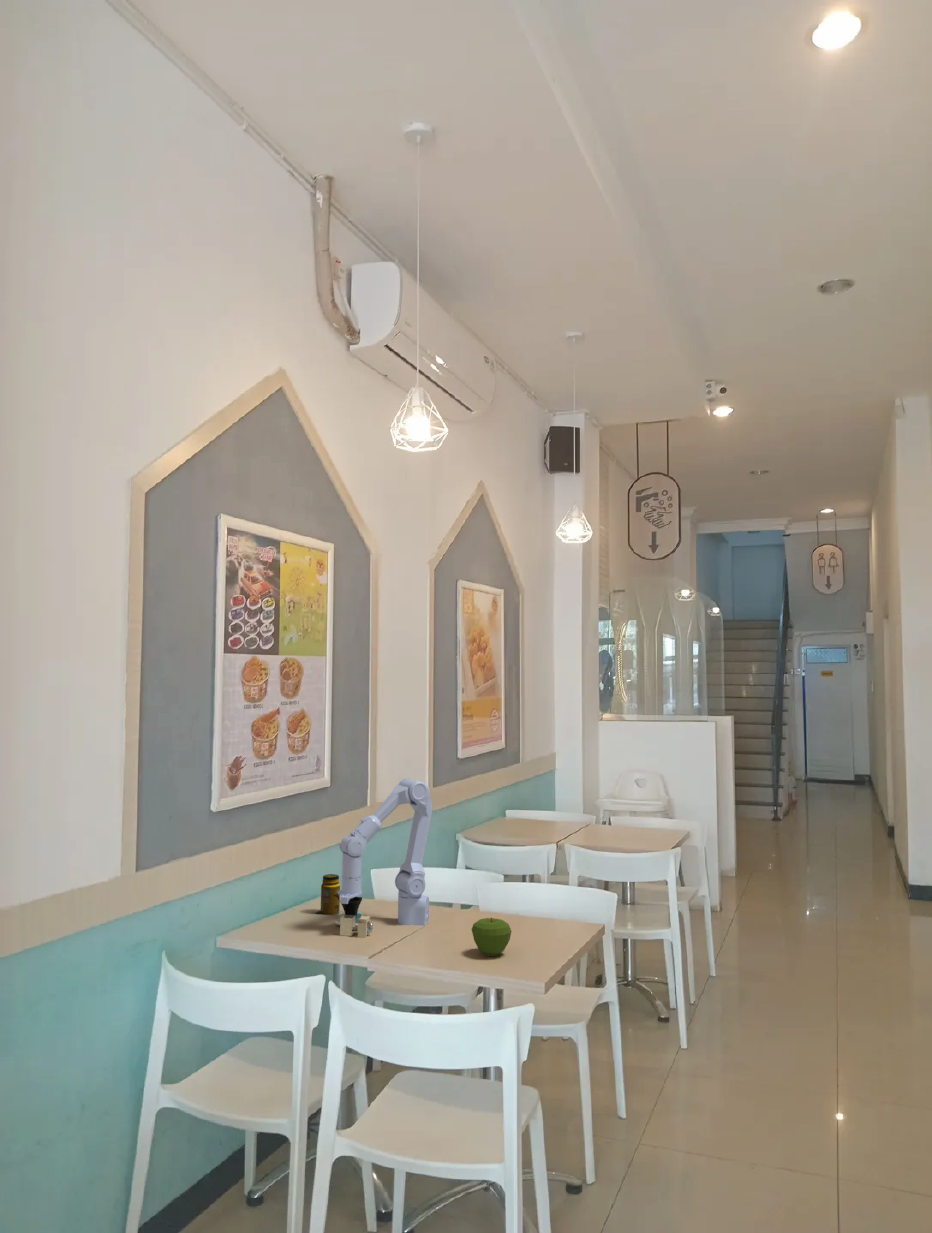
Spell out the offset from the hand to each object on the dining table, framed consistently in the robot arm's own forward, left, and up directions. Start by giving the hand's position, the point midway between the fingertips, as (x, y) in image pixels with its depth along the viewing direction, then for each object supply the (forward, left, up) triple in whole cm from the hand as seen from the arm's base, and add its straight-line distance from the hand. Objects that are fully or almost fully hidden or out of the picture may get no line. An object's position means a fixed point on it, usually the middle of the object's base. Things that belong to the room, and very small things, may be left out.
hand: (350, 923), depth 267 cm
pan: (+2, -4, -1) cm, 5 cm away
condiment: (+14, -20, -3) cm, 25 cm away
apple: (-44, +13, -3) cm, 46 cm away
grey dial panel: (0, 0, -3) cm, 3 cm away
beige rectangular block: (-3, +5, -2) cm, 6 cm away
